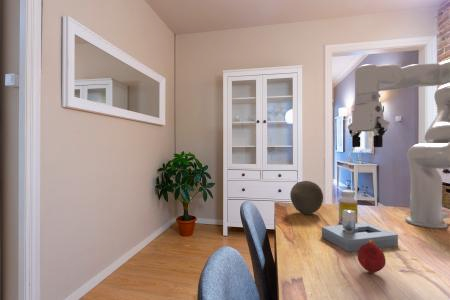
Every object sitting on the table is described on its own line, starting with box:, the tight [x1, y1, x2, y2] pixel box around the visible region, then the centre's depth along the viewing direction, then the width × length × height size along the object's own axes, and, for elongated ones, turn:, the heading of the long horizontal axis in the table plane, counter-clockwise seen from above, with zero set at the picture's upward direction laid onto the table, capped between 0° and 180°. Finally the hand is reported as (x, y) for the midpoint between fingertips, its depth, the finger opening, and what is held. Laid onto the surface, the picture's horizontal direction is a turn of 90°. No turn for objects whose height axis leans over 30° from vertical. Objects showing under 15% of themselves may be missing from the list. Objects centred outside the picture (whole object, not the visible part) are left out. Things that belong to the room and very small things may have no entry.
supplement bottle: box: [338, 189, 358, 225], centre depth 94 cm, size 7×7×13 cm
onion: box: [356, 239, 386, 274], centre depth 57 cm, size 6×6×8 cm
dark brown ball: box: [289, 180, 324, 215], centre depth 107 cm, size 14×14×15 cm
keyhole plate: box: [321, 222, 399, 253], centre depth 77 cm, size 18×12×3 cm, turn 103°
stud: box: [342, 210, 355, 234], centre depth 76 cm, size 4×4×10 cm
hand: (366, 147), depth 86 cm, fingers open, 9 cm apart
